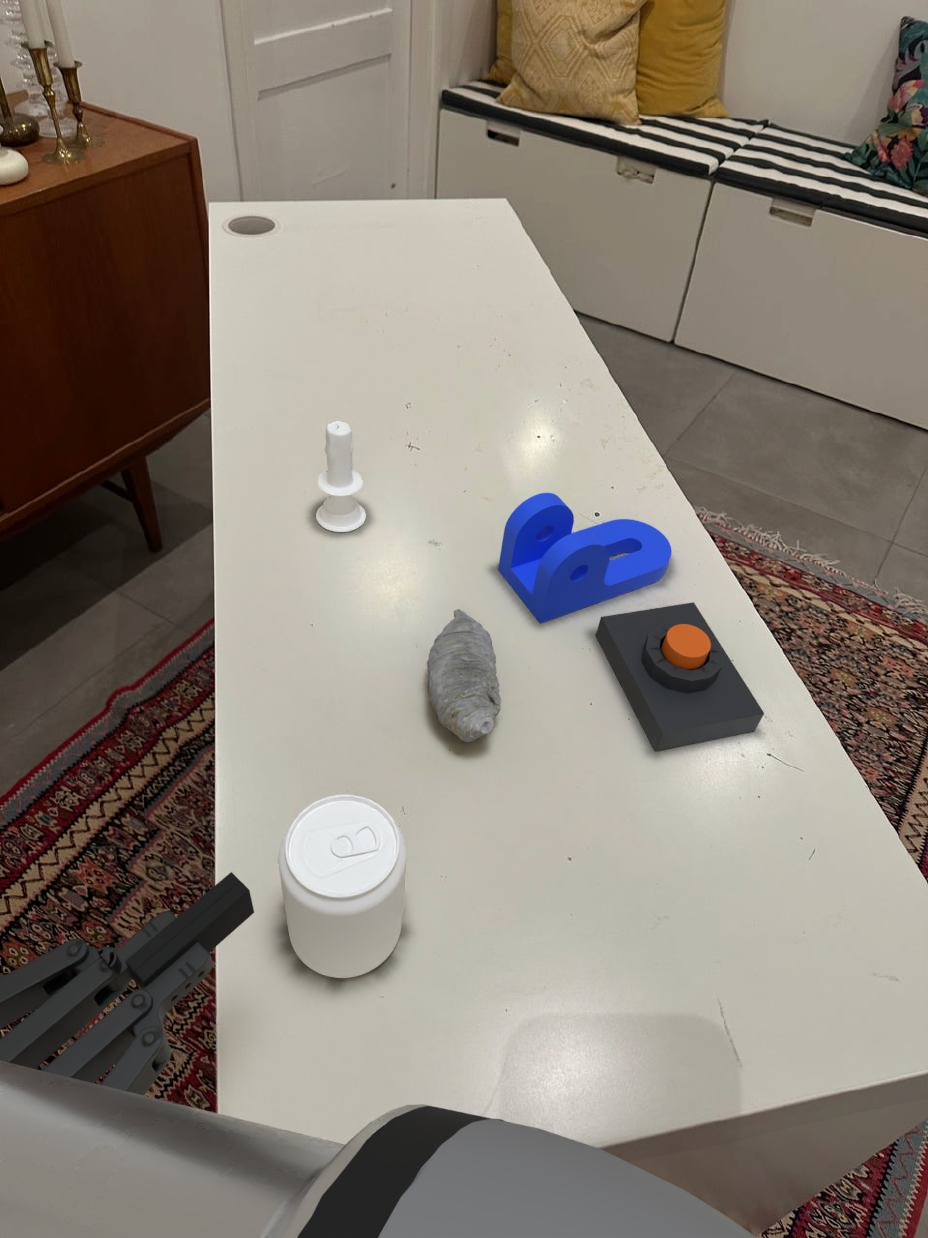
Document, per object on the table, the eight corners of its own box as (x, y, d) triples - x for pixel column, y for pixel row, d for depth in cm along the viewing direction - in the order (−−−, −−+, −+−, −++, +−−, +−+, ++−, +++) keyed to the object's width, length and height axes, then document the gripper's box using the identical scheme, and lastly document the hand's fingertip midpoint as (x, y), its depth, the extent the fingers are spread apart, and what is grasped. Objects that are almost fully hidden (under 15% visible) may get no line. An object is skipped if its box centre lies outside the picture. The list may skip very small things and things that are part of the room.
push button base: (754, 731, 78) (771, 700, 75) (654, 751, 76) (668, 721, 73) (686, 620, 87) (699, 589, 84) (595, 635, 85) (604, 603, 82)
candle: (348, 539, 91) (347, 445, 83) (306, 521, 93) (300, 426, 84) (375, 512, 95) (376, 418, 86) (333, 495, 96) (331, 401, 88)
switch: (713, 666, 78) (718, 653, 77) (673, 673, 77) (678, 660, 76) (693, 633, 81) (698, 620, 79) (654, 640, 80) (659, 627, 78)
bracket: (540, 623, 85) (554, 556, 79) (497, 570, 90) (508, 502, 84) (682, 572, 92) (706, 507, 86) (635, 525, 97) (655, 460, 91)
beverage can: (277, 892, 64) (264, 807, 56) (382, 860, 67) (385, 774, 58) (304, 998, 59) (293, 923, 51) (416, 959, 62) (425, 881, 53)
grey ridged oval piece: (497, 611, 82) (491, 578, 75) (506, 753, 77) (500, 733, 70) (431, 616, 83) (418, 584, 75) (435, 757, 78) (421, 738, 70)
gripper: (-259, 1197, 39) (179, 851, 52) (-120, 1461, 34) (328, 1002, 47) (-360, 1158, 34) (157, 782, 47) (-214, 1465, 28) (323, 944, 42)
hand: (242, 892), depth 47 cm, fingers closed
